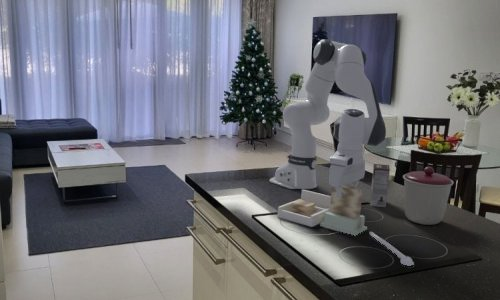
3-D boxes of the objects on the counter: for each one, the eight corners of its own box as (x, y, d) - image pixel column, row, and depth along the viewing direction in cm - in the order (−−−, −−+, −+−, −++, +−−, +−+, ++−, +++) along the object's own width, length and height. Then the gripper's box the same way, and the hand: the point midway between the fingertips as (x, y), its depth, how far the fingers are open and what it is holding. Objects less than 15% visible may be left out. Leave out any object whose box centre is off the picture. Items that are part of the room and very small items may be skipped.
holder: (320, 226, 183) (321, 212, 182) (332, 220, 190) (333, 207, 189) (355, 236, 174) (356, 222, 173) (367, 229, 181) (368, 216, 180)
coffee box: (369, 199, 219) (373, 163, 216) (385, 201, 218) (388, 164, 215) (370, 205, 210) (374, 168, 207) (386, 207, 209) (390, 169, 206)
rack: (277, 217, 190) (278, 196, 189) (299, 208, 202) (300, 188, 200) (311, 227, 181) (313, 205, 180) (332, 217, 193) (334, 197, 191)
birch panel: (328, 222, 185) (332, 184, 182) (331, 220, 186) (334, 183, 183) (356, 229, 178) (360, 191, 175) (358, 228, 179) (362, 190, 177)
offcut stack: (290, 218, 190) (291, 202, 189) (299, 214, 195) (300, 199, 193) (306, 223, 186) (307, 207, 184) (315, 219, 190) (316, 203, 189)
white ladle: (361, 234, 177) (362, 227, 177) (372, 234, 178) (373, 226, 178) (403, 268, 151) (404, 259, 150) (415, 268, 152) (416, 259, 151)
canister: (388, 215, 199) (394, 162, 195) (424, 211, 206) (430, 160, 202) (420, 231, 183) (427, 174, 179) (458, 226, 190) (466, 171, 186)
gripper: (355, 151, 187) (351, 187, 190) (327, 158, 171) (323, 198, 174) (371, 154, 183) (367, 191, 186) (344, 162, 167) (340, 202, 170)
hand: (346, 194), depth 180 cm, fingers open, 8 cm apart
